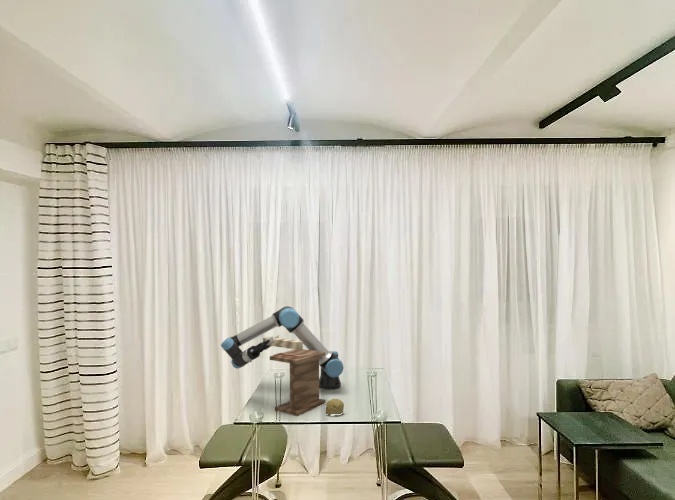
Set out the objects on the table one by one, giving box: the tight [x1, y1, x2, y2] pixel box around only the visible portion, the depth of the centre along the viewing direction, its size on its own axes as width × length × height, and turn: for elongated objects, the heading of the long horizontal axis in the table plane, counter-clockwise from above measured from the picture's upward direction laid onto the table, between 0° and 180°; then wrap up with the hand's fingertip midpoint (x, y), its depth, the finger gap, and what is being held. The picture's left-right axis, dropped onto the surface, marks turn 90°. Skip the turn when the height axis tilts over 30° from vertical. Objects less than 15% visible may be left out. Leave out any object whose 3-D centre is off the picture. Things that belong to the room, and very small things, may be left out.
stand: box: [269, 348, 326, 417], centre depth 273 cm, size 20×26×30 cm
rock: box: [325, 398, 345, 416], centre depth 260 cm, size 10×11×10 cm
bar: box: [262, 336, 304, 350], centre depth 271 cm, size 26×4×4 cm, turn 56°
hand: (276, 337), depth 274 cm, fingers closed on bar, 4 cm apart
